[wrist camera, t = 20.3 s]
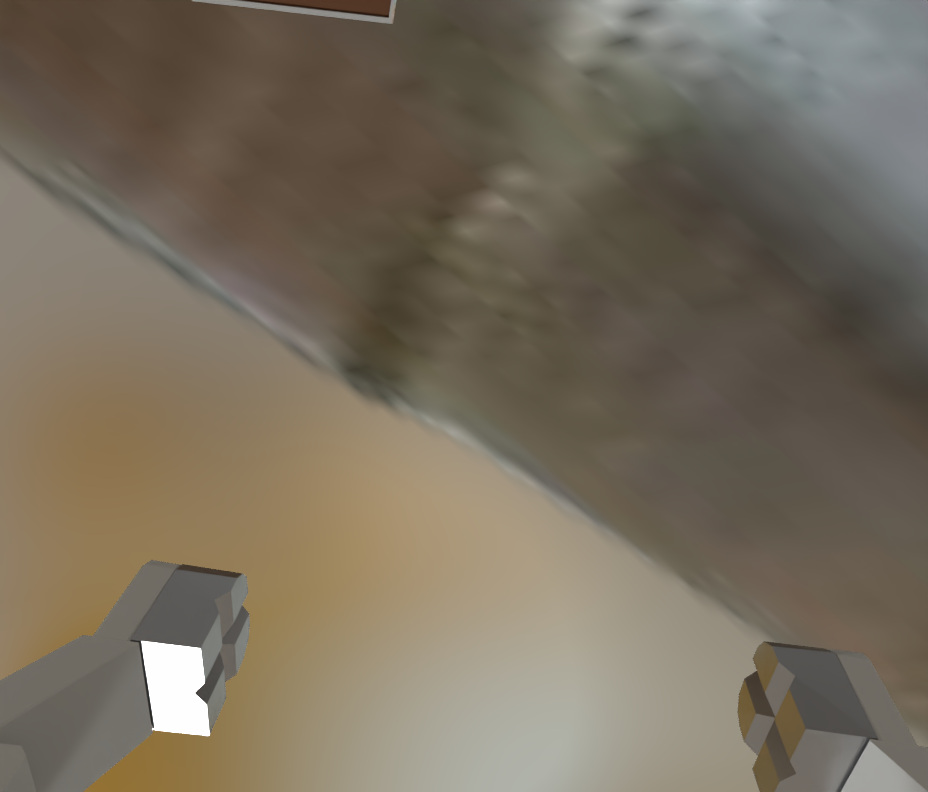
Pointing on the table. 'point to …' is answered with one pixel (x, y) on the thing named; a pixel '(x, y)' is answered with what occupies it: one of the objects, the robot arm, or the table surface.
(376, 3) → the food container
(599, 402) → the table surface
